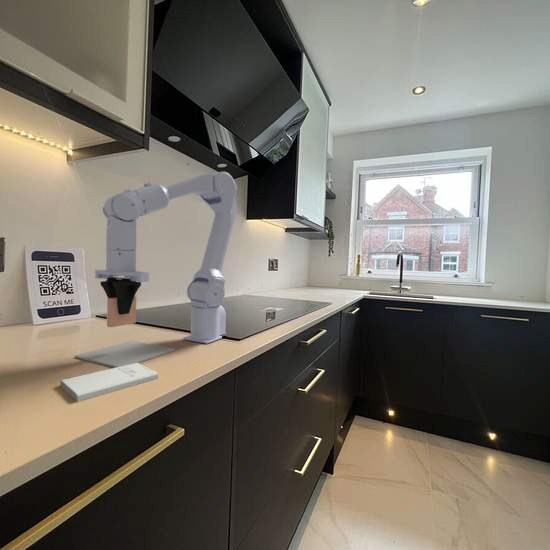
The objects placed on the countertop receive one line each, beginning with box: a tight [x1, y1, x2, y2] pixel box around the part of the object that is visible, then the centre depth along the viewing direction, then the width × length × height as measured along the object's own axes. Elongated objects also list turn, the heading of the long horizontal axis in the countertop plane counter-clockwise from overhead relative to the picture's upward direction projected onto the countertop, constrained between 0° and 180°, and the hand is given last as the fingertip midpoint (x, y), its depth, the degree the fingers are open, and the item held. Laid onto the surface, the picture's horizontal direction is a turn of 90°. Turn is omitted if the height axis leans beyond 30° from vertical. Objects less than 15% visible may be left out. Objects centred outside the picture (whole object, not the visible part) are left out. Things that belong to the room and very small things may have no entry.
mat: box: [74, 340, 176, 368], centre depth 65 cm, size 14×14×1 cm
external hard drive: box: [59, 363, 159, 403], centre depth 50 cm, size 2×8×12 cm
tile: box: [106, 295, 137, 328], centre depth 65 cm, size 6×2×6 cm, turn 155°
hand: (120, 313), depth 65 cm, fingers closed on tile, 2 cm apart
